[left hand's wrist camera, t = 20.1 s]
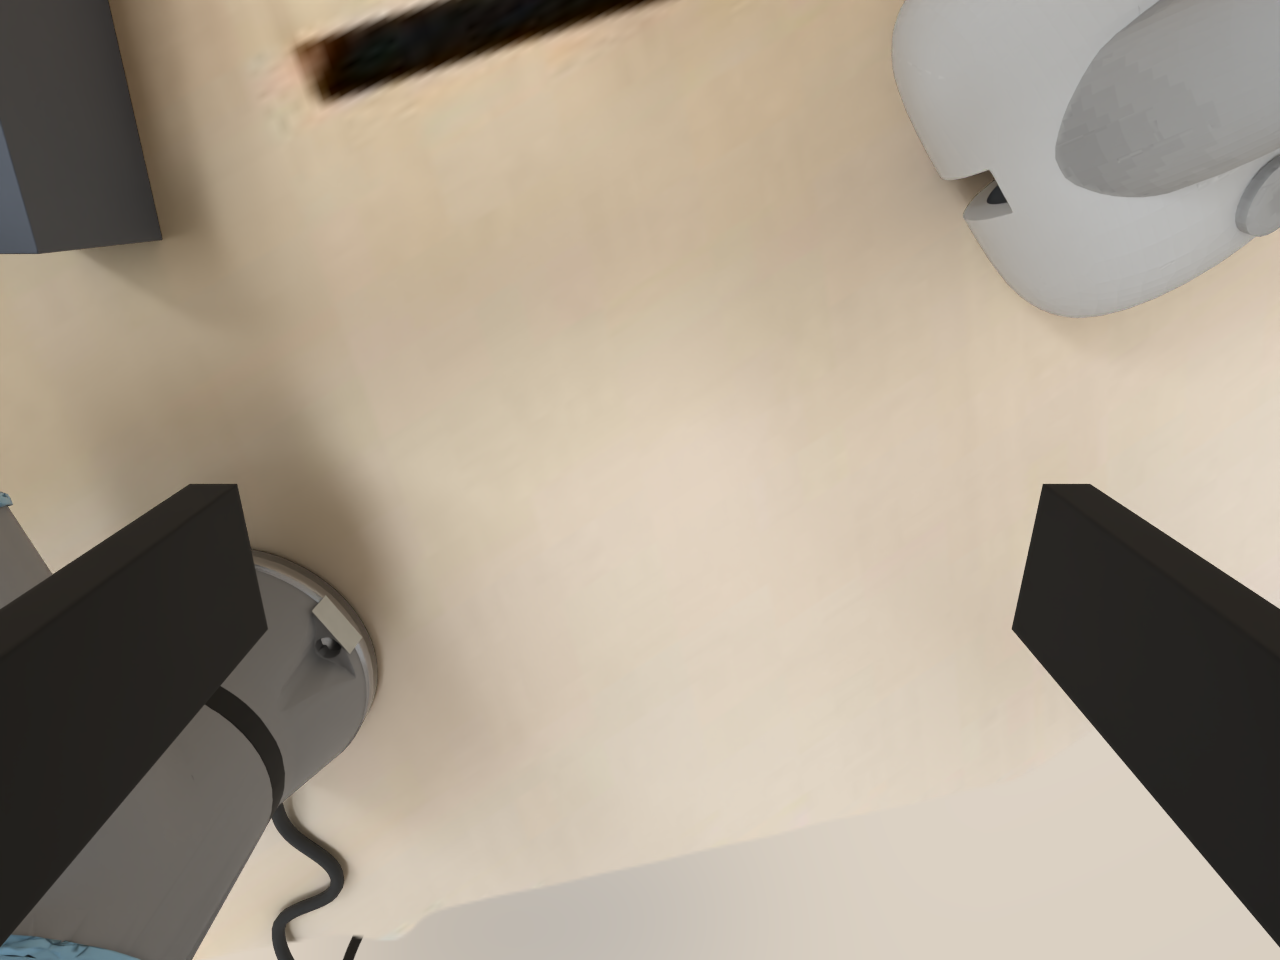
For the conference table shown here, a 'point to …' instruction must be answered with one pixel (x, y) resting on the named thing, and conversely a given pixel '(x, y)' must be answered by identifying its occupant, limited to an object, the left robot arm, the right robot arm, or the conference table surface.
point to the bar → (67, 132)
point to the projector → (1100, 136)
